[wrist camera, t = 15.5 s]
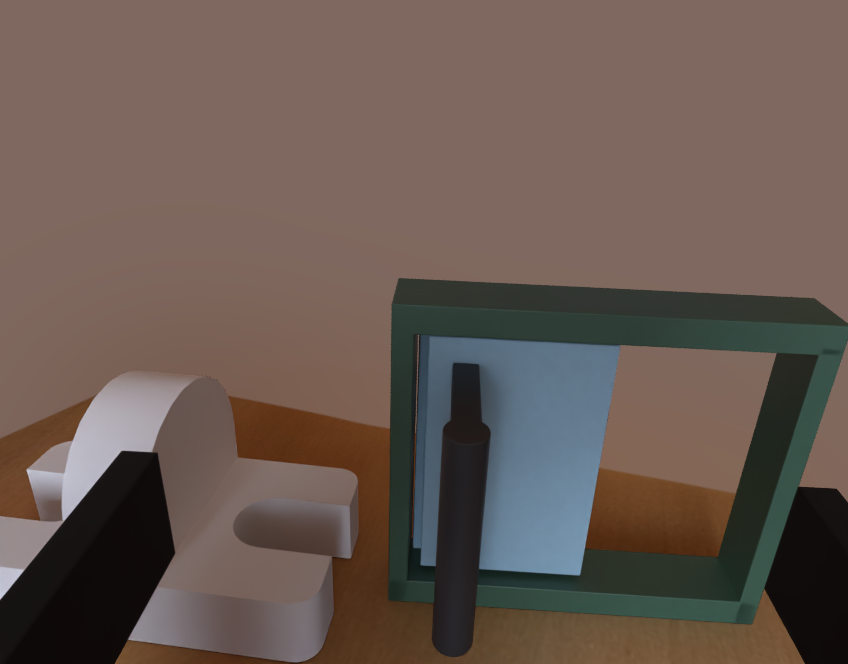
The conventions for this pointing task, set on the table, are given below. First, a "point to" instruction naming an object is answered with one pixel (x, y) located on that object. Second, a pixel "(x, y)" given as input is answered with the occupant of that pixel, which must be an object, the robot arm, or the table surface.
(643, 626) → the table surface
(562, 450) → the window pane
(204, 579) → the bracket
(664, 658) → the table surface
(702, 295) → the window frame
